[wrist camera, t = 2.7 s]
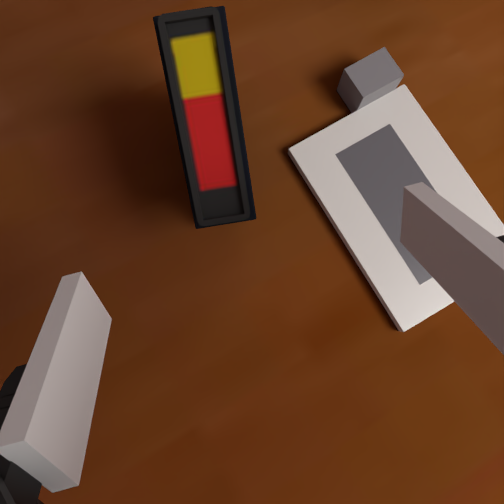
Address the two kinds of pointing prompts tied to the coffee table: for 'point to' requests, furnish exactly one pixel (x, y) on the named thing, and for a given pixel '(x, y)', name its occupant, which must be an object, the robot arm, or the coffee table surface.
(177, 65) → the magazine
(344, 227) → the charging pad
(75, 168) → the coffee table surface
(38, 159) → the coffee table surface
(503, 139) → the coffee table surface
